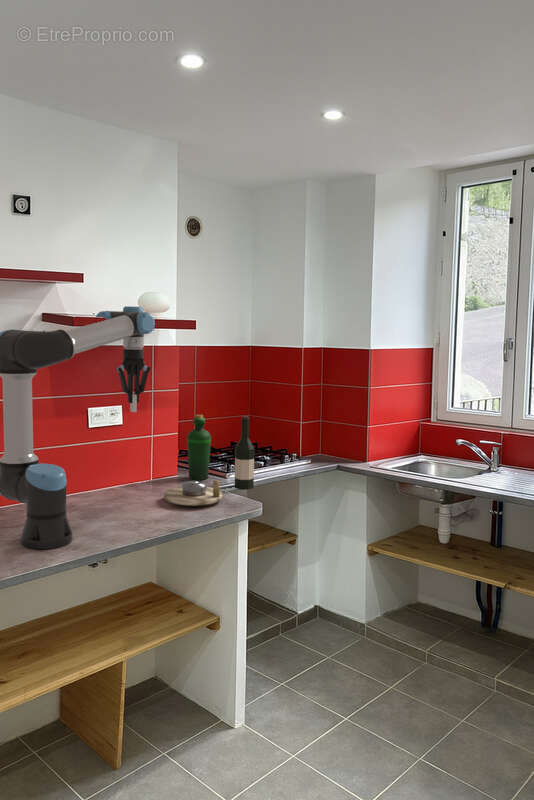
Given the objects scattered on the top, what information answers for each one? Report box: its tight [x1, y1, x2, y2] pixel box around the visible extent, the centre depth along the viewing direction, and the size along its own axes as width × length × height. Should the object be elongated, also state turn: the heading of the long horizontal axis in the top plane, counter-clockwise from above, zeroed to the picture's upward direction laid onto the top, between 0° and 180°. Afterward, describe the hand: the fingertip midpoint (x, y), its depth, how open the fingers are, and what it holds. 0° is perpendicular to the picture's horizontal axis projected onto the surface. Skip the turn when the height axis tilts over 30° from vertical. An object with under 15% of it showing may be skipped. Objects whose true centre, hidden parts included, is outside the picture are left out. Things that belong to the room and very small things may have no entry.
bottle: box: [186, 414, 212, 481], centre depth 285 cm, size 11×11×28 cm
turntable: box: [164, 479, 223, 506], centre depth 250 cm, size 22×22×8 cm
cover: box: [181, 480, 207, 497], centre depth 250 cm, size 9×9×5 cm
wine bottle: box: [234, 415, 255, 491], centre depth 272 cm, size 8×8×30 cm
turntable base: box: [175, 503, 214, 508], centre depth 251 cm, size 16×16×1 cm
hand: (133, 411), depth 245 cm, fingers closed
